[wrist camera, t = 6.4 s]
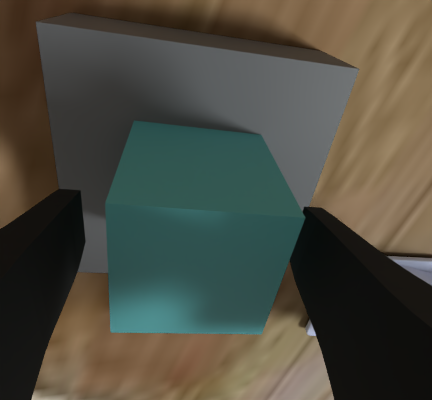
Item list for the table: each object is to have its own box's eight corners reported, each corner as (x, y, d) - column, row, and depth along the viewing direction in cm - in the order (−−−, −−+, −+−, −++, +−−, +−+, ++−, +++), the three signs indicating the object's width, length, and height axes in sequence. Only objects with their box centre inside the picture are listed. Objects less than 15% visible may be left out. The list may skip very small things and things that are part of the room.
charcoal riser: (321, 50, 14) (359, 69, 11) (266, 234, 19) (282, 279, 16) (70, 12, 12) (35, 21, 9) (89, 224, 17) (70, 271, 15)
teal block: (261, 135, 12) (305, 217, 8) (238, 231, 14) (261, 334, 10) (134, 120, 11) (104, 203, 7) (132, 224, 13) (110, 332, 9)
